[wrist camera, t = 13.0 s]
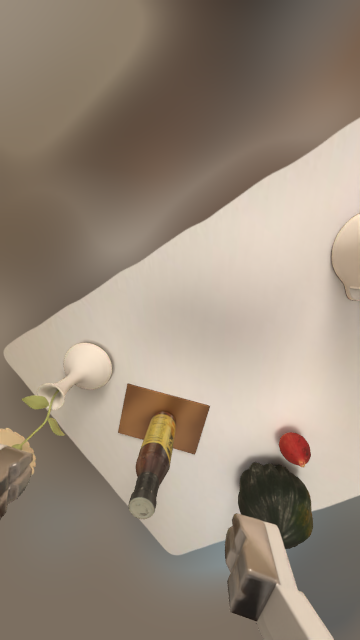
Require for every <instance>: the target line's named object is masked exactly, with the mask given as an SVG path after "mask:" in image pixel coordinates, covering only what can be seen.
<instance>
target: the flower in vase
mask: <svg viewBox="0 0 360 640" xmlns="http://www.w3.org/2000/svg"><path fill="white" fill-rule="evenodd" d="M63 365H64V371H65V373H66V375H67V377H65V378H64V379H63V380H61V381H59V382H57V383H54V384H49V383H48V384H43V385H41V386H40V387H39V388H38V391H37V396H29V397H26V398H23V399H22V400H23V401H24V402H25V403H26V404H27V405H28V406H29V407H31V408H33V409H41V408H45V407H46V408H48V409H49V410H48V414H47V417H46V419H45V421H44V422H43V424H42V425H41V426H40V427H39V428H38V429H37V430H36V431H34V432H33V433H32V434H31V435H30V436H29V437H28V438H27V439H26V440H25V438H24V437H23V436H19V434H18V433H17V432H12V430H11V429H9V428H6V429H5V430H4V429H0V444H4V445H7V446H10V447H13V448H16V449H19V450H22V451H25V452H29V453H32V454H33V461H32V462H31V463H30V464H29V465H30V467H31V468H32V474H34V468H33V467H35V466H36V463H35V460H36V457H35V455H34V451H33V449H32V448H30V447H29V446H30V444H29V443H28V442H27V441H28V440H29V439H30V438H31V437H32V436H33V435H34V434H35V433H36V432H37V431H38V430H39V429H40V428H42V426H44V424H45V423H46V422H47V420H48V422H49V424H50V427H51V429H52V431H53V432H54V433H55V434H56V435H60V436H61V435H64V434H63V432H62V431H61V430H60V428H59V426H58V424H57V422H56V420H55V419H53V418H49V415H50V411H51V410H56V409H59V408H61V407H62V405H63V404H64V401H65V395H66V393H67V392H68V391H69V389H70V388H71V387H72V386H73V385H76V386H78V387H80V388H83V389H88V390H92V389H97V388H100V387H102V386H103V385H105V384H106V383H107V382H108V381H109V379H110V377H111V373H112V365H111V361H110V359H109V357H108V355H107V354H106V353H105V352H104V351H103V350H102V349H101V348H100V347H98V346H96V345H94V344H91V343H79V344H76V345H74V346H72V347H71V348H70V349H69V350H68V352H67V353H66V355H65V358H64V363H63Z"/></svg>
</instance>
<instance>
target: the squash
mask: <svg viewBox="0 0 360 640" xmlns="http://www.w3.org/2000/svg"><path fill="white" fill-rule="evenodd" d="M238 505H239V509H240V512H241V515H244V516H248V517H252V518H255V519H259V520H261V521H264V522H268V523H271V524H275V525H277V527H278V529H279V531H280V534H281V537H282V541H283V544H284V547H285V549H290V548H292V547H295V546H297V545H298V544H300V543H302V542H304V541H305V540H306V539H307V538H308V537H309V536H310V535H311V532H312V529H313V519H312V513H311V499H310V495H309V492H308V490H307V488H306V487H305V485H304V484H303V482H302V481H301V480H300V479H299V478H298V477H296V476H295V475H294V474H292V473H290V472H289V471H288V470H287V469H286V468H285V467H283V466H282V465H277V466H274V465H273V464H270V463H268V464H266V465H265V466H263V465H262V464H260V463H255V462H254V463H252V465H251V466H250V469H249V470H246V471H244V473H243V474H242V475H241V478H240V492H239V495H238Z"/></svg>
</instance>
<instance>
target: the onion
mask: <svg viewBox="0 0 360 640" xmlns="http://www.w3.org/2000/svg"><path fill="white" fill-rule="evenodd" d="M279 447H280V451H281V453H282V455H283V456H284V457H285V458H286V459H287V460H288V461H289V462H291V463H293V464H295V465H299V466H301V467H304V466H305V464H306V463H308V461H309V459H310V457H311V452H310V447H309V444H308V443H307V441H306V440H305V439H304V437H303V436H301V435H299V434H297V433H292V432H290V433H286V434H284V435H283V436H282V437H281V438H280V441H279Z"/></svg>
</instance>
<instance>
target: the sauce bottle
mask: <svg viewBox="0 0 360 640" xmlns="http://www.w3.org/2000/svg"><path fill="white" fill-rule="evenodd" d="M175 431H176V422H175V418H174V417H173V416H172V415H171V414H169V413H168V412H158V413H156V414H155V415H154V416H153V418H152V419H151V421H150V424H149V427H148V430H147V432H146V435H145V438H144V441H143V444H142V446H141V449H140V452H139V457H138V459H137V462H136V473H137V476H138V478H137V481H136V486H135V490H134V492H133V493H132V495H131V498H130V501H129V511H130V512H131V514H132V515H133V516H135V517H136V518H139V519H147V518H149V517H151V516H152V515H153V514H154V511H155V508H156V497H157V492H158V488H159V485H160V484H161V482H162V480H163V479H164V477H165V475H166V474H167V472H168V470H169V467H170V461H171V455H172V450H173V443H174V437H175Z"/></svg>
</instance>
